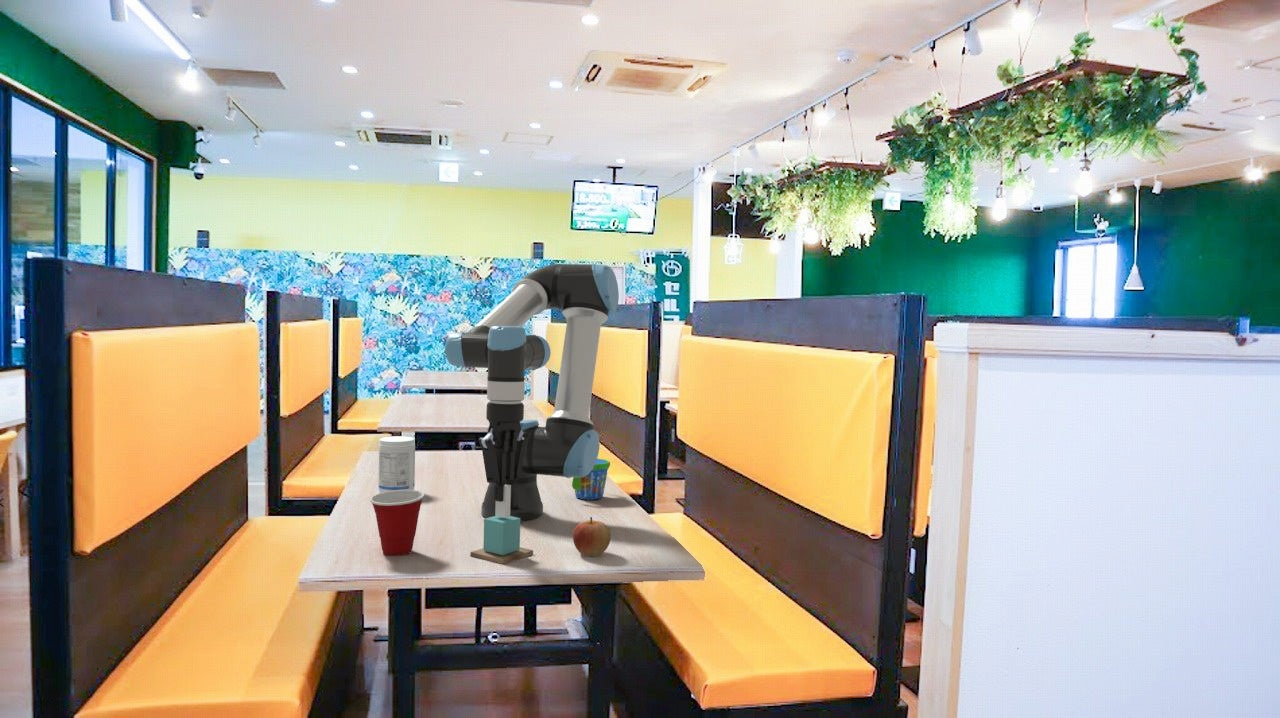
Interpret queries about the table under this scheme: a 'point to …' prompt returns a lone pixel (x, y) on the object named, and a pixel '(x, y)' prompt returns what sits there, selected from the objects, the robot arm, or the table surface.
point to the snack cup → (592, 482)
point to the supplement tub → (396, 463)
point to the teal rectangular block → (501, 535)
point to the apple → (591, 537)
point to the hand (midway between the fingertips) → (502, 516)
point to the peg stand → (501, 558)
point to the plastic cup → (397, 519)
